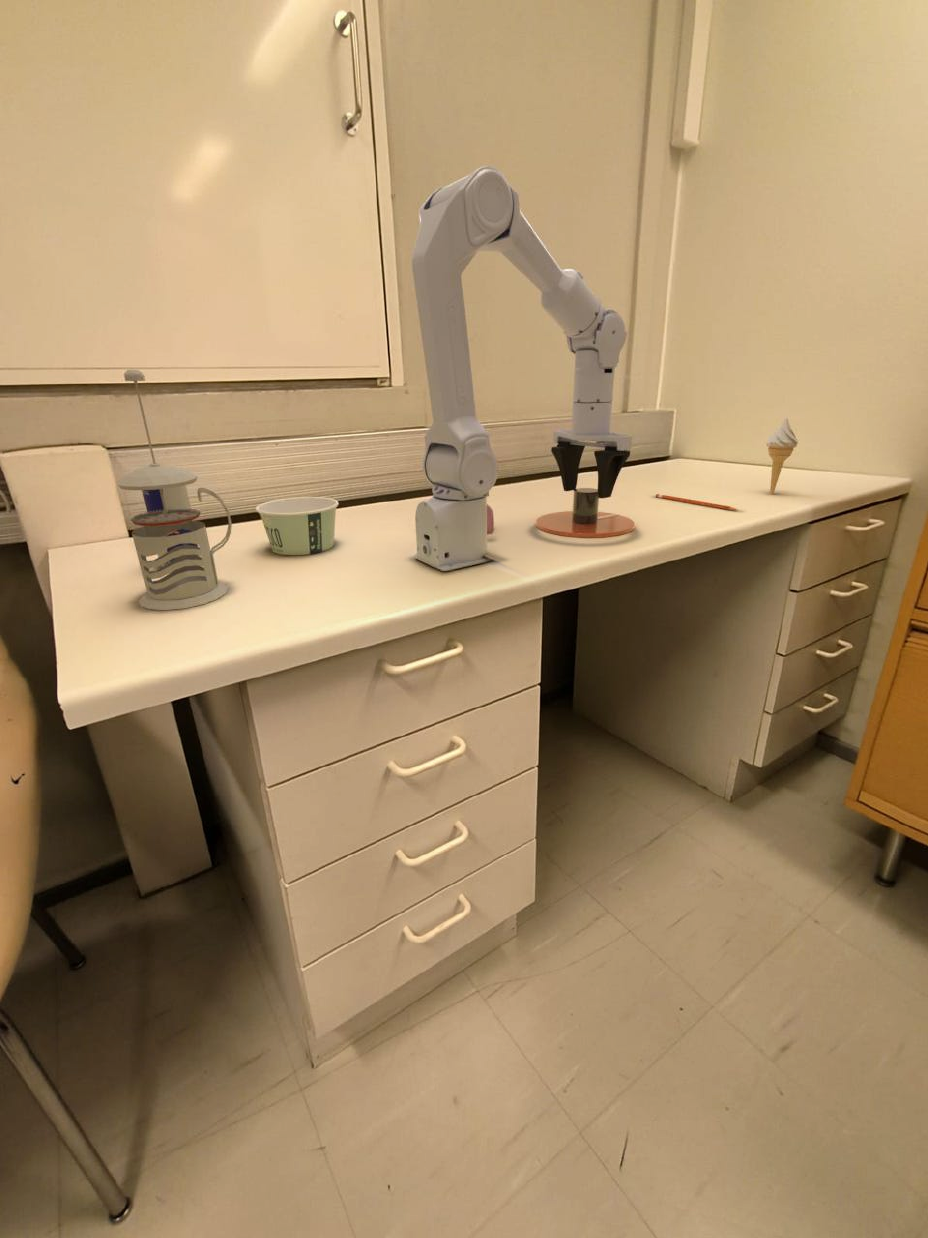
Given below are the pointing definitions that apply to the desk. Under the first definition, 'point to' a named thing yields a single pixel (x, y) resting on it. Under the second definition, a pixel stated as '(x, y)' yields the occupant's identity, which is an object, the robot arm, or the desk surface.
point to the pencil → (696, 502)
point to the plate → (584, 530)
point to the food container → (299, 524)
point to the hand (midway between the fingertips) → (586, 493)
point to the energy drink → (172, 500)
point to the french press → (172, 538)
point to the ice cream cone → (780, 450)
